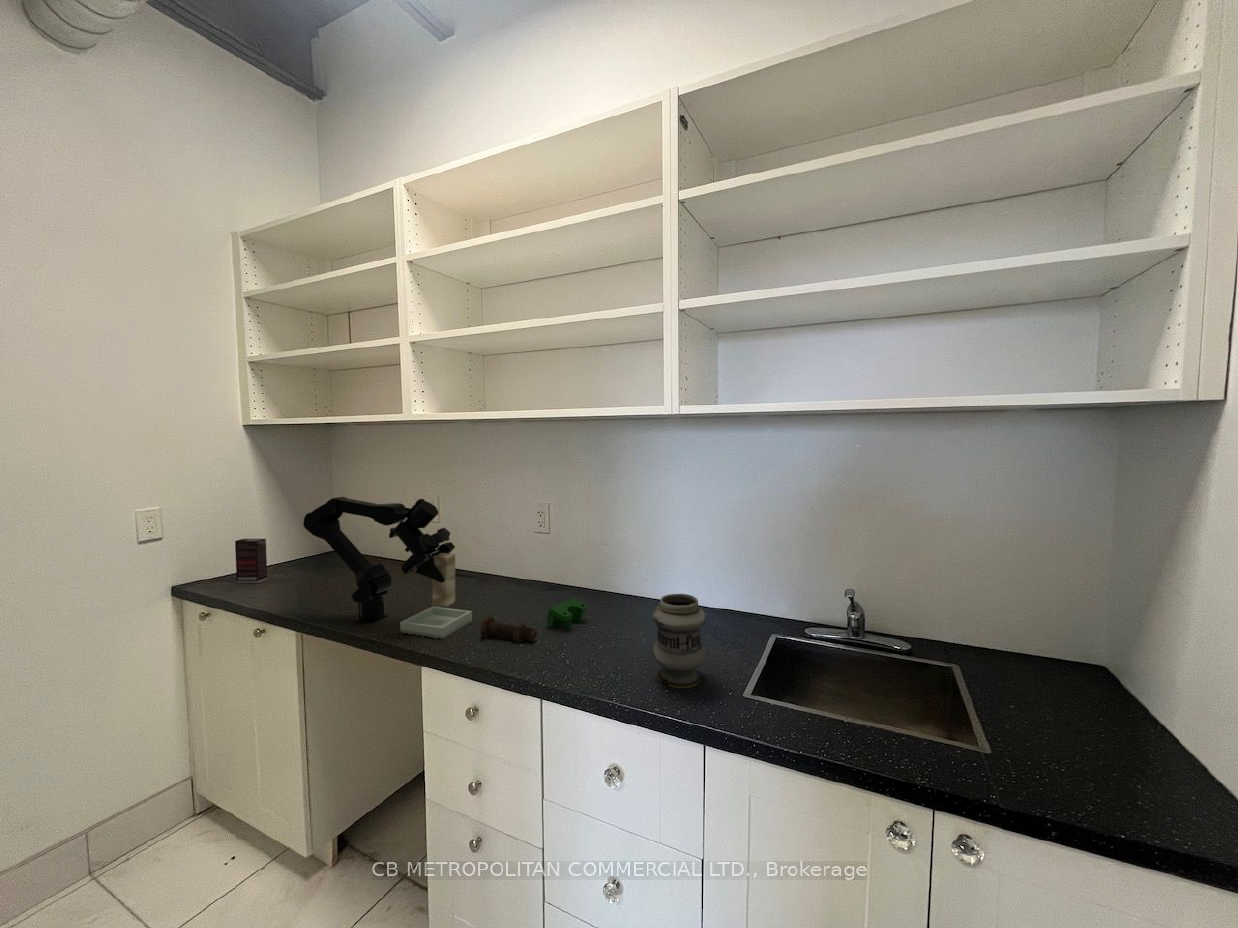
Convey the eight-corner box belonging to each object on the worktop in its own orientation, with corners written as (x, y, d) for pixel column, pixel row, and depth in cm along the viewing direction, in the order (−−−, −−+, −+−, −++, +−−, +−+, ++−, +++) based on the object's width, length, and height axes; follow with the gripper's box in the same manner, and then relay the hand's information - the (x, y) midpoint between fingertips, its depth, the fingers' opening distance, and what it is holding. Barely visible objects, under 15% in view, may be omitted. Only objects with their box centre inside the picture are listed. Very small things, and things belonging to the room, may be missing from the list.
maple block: (432, 605, 139) (432, 556, 138) (441, 600, 143) (441, 552, 142) (446, 606, 138) (446, 557, 137) (455, 601, 142) (455, 553, 141)
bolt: (533, 650, 129) (483, 641, 133) (540, 634, 133) (492, 626, 137) (528, 635, 125) (477, 626, 130) (536, 620, 130) (486, 612, 134)
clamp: (563, 644, 138) (561, 621, 134) (548, 634, 141) (545, 612, 137) (590, 617, 147) (588, 595, 142) (574, 608, 150) (572, 586, 145)
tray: (400, 632, 135) (400, 622, 135) (432, 616, 148) (432, 606, 148) (442, 639, 131) (442, 627, 130) (471, 621, 144) (471, 611, 143)
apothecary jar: (641, 678, 109) (641, 599, 109) (671, 660, 118) (672, 587, 118) (686, 697, 101) (687, 612, 101) (715, 676, 111) (717, 597, 110)
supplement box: (268, 579, 185) (266, 538, 185) (258, 583, 180) (256, 540, 180) (246, 579, 186) (244, 538, 185) (235, 583, 181) (234, 540, 180)
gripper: (411, 525, 131) (448, 569, 129) (449, 515, 149) (482, 553, 147) (385, 552, 133) (421, 596, 131) (426, 539, 151) (458, 577, 149)
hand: (448, 579), depth 140 cm, fingers closed on maple block, 4 cm apart
